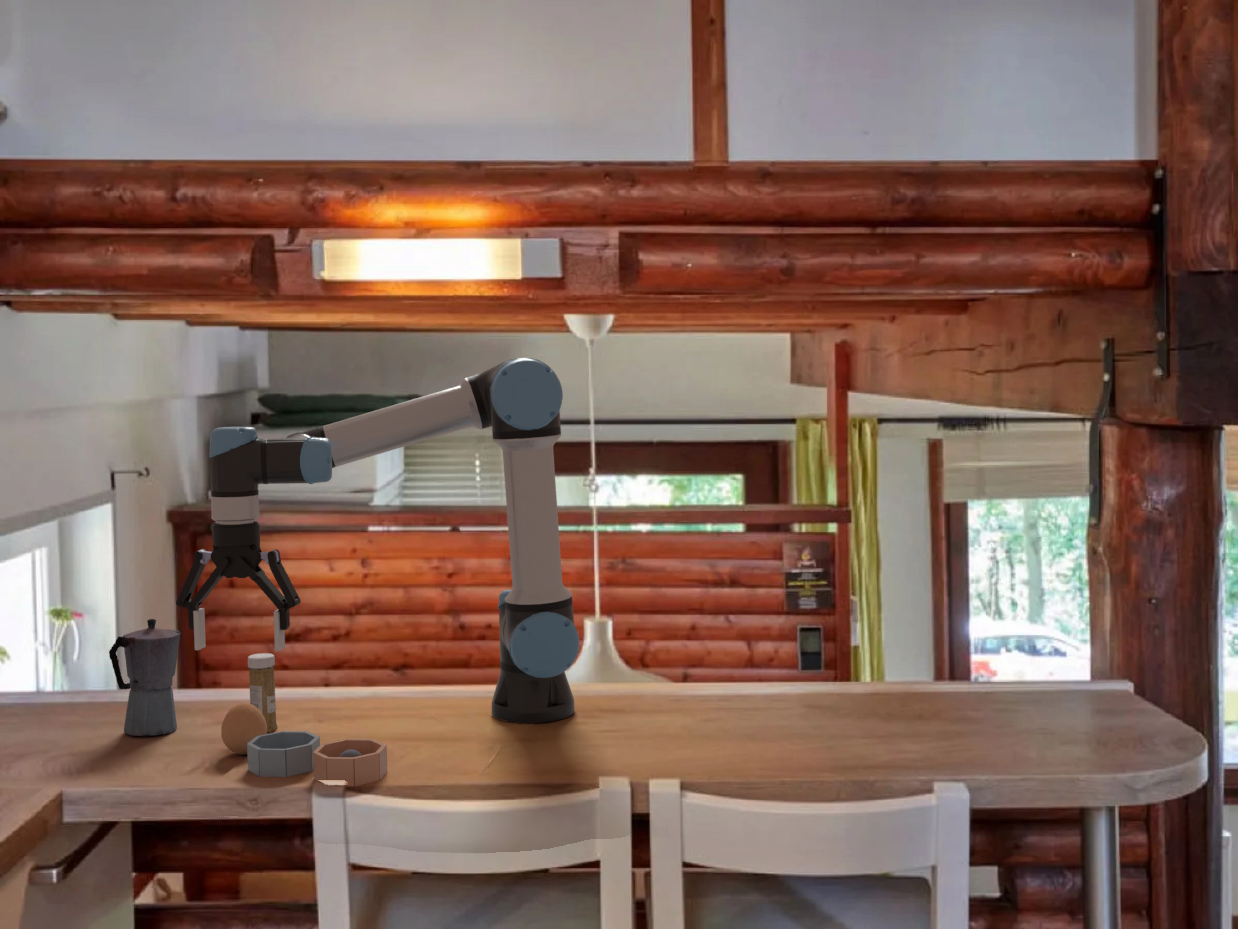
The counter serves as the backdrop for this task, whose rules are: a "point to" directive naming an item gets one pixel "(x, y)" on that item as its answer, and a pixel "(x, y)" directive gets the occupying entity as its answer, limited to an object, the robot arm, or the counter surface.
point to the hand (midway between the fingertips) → (240, 649)
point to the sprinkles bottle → (263, 686)
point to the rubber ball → (350, 753)
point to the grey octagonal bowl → (282, 753)
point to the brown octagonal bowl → (351, 761)
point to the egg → (242, 727)
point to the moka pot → (148, 679)
